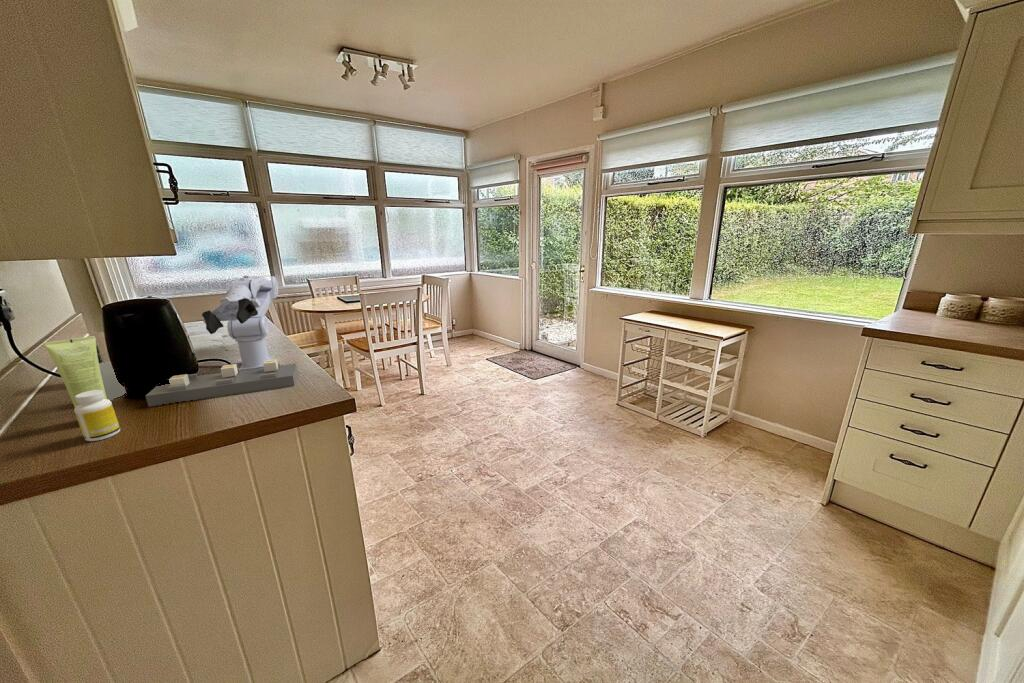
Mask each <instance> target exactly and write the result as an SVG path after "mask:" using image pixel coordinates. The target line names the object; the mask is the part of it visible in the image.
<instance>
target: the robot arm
mask: <svg viewBox="0 0 1024 683" xmlns="http://www.w3.org/2000/svg"><path fill="white" fill-rule="evenodd" d="M225 292H226V295H225V297H222V298H220V299H219V303H220V304H219V305H218V306H216V307H215V308H214V309H213V310H206V311H204V312H202V314H201V316H202V318H201V321H203V323H204V324H205V330H206V331H207V332H208V333H209V334H210V335H213V334H215V333H216V332H217V331H218V330H219V329H220V328H224V327H225V326H224V324H223V323H222V322H226V321H227V323H226V324H227V327H226V328H227V333H228V336H229V337H230V338H231V339H232V340H234V341H235V342H237V344H238V350H239V355H240V360H241V365H240V367H239V368H240V371H241V370H249V369H257V368H264V365H263V363H264V361H266V360H274V357H273V356H270V354H269V350H268V349H269V348H268V344H267V341H266V338H265V337H267V336H268V334H269V332H270V331H269V329H270V328H269V327H270V324H269V319H268V317H267V315H266V314H267V312H268V310H269V308H270V305H271V302H272V301H274V300H275V299H276V298H277V296H278V295H279V283H278V279H277V278H276V276H274V275H273V276H270V275H269V276H268V275H264V276H263V275H261V276H257V275H256V276H250V275H243V276H242V277H241V278H239V279H238V280H232V281H231V280H230V281H227V289H226V291H225Z"/></svg>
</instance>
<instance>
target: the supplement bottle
mask: <svg viewBox="0 0 1024 683" xmlns="http://www.w3.org/2000/svg"><path fill="white" fill-rule="evenodd" d="M75 399H76V402H77V403H79V405H78V406H76V407H74V409H73V411H74V413H75V414H74V415H75V416H76V419H77V422H78V426H79V428H80V430H81V433H82V436H83V438H84V440H85V441H86V442H96V441H102V440H105V439H108V438H111V437H113V436H116V435H117V434H119V432H121V427H120V423H119V420H118V418H117V414H116V412H115V409H114V406H113V403H112V401H110V400H108V399H104V393H103V391H102V390H92V391H87V392H83V393H80V394H78V395H76V396H75Z"/></svg>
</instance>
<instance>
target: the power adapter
mask: <svg viewBox="0 0 1024 683" xmlns="http://www.w3.org/2000/svg"><path fill="white" fill-rule="evenodd" d="M100 354H101V357H102V360H103V362H102V363H99V367H100V372H101V376H102V381H103V385H104V389H105V393H106V397H107V399H108V400H113V399H114V398H117V397H120V396H122V395H124V394H125V393H126V394H127V391H126V388H125V386H124V387H123V386H122V385H121V384H120V383H119V382H118V380H117V378H116V375H115V372H114V368H113V365H112V363H111V361H109V360H108V361H106V360H105V357H104V354H103V353H100ZM113 401H114V400H113Z"/></svg>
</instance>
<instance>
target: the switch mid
mask: <svg viewBox="0 0 1024 683" xmlns="http://www.w3.org/2000/svg"><path fill="white" fill-rule="evenodd" d="M237 366H238V365H237V363H235V364H224V365H222V366H221V368H220V371H221V372H220V373H222V377H231V376H236V375H237V373H238V370H237V369H238V367H237Z"/></svg>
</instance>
